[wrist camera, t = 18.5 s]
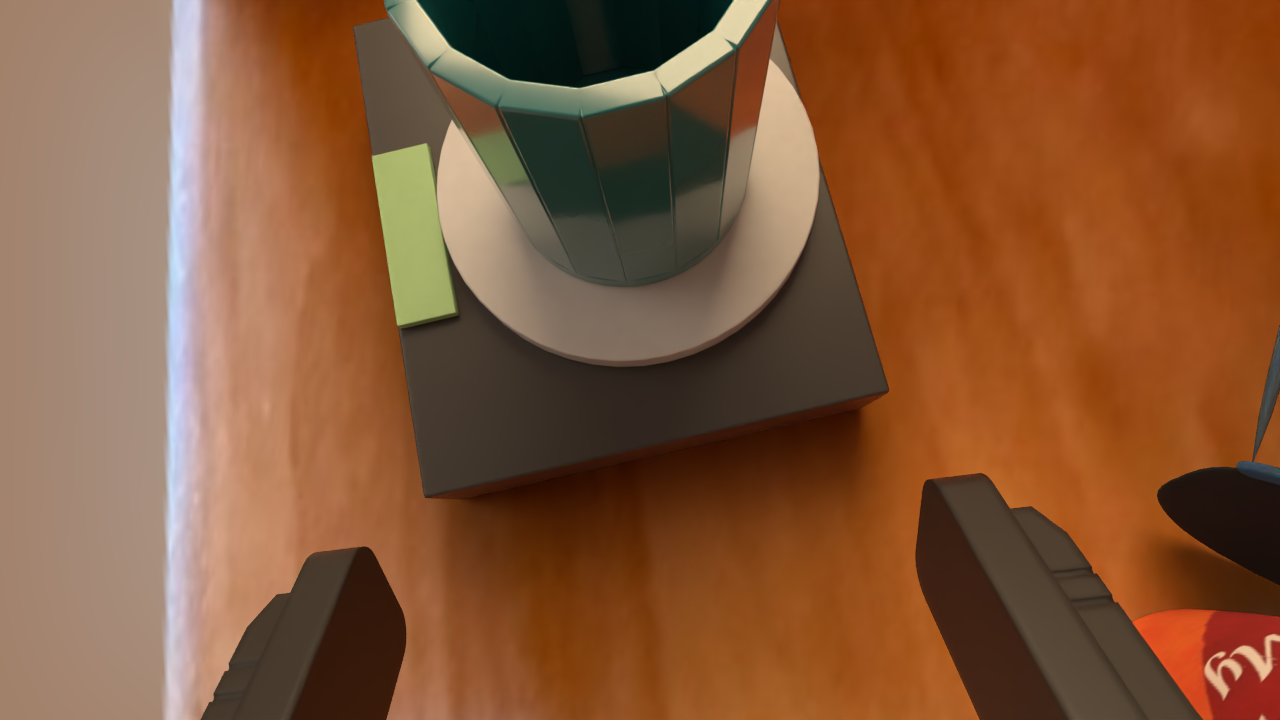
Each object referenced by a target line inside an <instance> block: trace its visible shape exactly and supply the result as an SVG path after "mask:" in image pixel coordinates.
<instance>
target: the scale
mask: <svg viewBox="0 0 1280 720" xmlns="http://www.w3.org/2000/svg"><path fill="white" fill-rule="evenodd" d="M353 31H354V37H355V44H356V51H357V57H358V64H359V70H360V77H361V84H362V90H363V97H364V103H365V110H366V117H367V123H368V130H369V136H370V143H371V150H372V163H373V170H374V176H375V183H376V189H377V196H378V203H379V209H380V216H381V222H382V229H383V236H384V242H385V249H386V255H387V262H388V269H389V275H390V282H391V289H392V295H393V302H394V308H395V315H396V322H397V326H398V328H399V334H400V341H401V347H402V354H403V361H404V367H405V374H406V380H407V387H408V394H409V400H410V407H411V413H412V420H413V426H414V433H415V440H416V446H417V453H418V459H419V466H420V473H421V479H422V486H423V492H424V496H425V498H436V499H466V498H471V497H475V496H480V495H484V494H488V493H493V492H497V491H501V490H506V489H510V488H515V487H519V486H523V485H528V484H532V483H536V482H541V481H545V480H550V479H554V478H558V477H563V476H567V475H572V474H576V473H580V472H585V471H589V470H593V469H598V468H602V467H607V466H611V465H615V464H620V463H624V462H628V461H633V460H637V459H642V458H646V457H650V456H655V455H659V454H663V453H668V452H672V451H677V450H681V449H685V448H690V447H694V446H698V445H703V444H707V443H712V442H716V441H720V440H725V439H729V438H733V437H738V436H742V435H747V434H751V433H755V432H760V431H764V430H768V429H773V428H777V427H782V426H786V425H790V424H795V423H799V422H804V421H808V420H812V419H817V418H821V417H825V416H830V415H834V414H839V413H843V412H847V411H852V410H856V409H860V408H862V407H864V406H865V405H867V404H869V403H871V402H872V401H874V400H876V399H878V398H879V397H881V396H883V395H885V394H886V393H888V392H889V387H888V384H887V380H886V377H885V374H884V370H883V367H882V364H881V361H880V357H879V354H878V351H877V347H876V344H875V341H874V337H873V334H872V331H871V328H870V324H869V321H868V318H867V314H866V311H865V308H864V304H863V301H862V298H861V295H860V291H859V288H858V285H857V281H856V278H855V275H854V271H853V268H852V265H851V261H850V258H849V255H848V252H847V248H846V245H845V242H844V238H843V235H842V232H841V228H840V225H839V222H838V219H837V215H836V212H835V209H834V205H833V202H832V199H831V195H830V192H829V189H828V185H827V182H826V179H825V176H824V172H823V169H822V166H821V162H820V159H819V156H818V150H817V146H816V141H815V137H814V132H813V128H812V126H811V123H810V120H809V118H808V115H807V113H806V110H805V107H804V106H803V103H802V100H801V96H800V93H799V90H798V86H797V83H796V80H795V76H794V73H793V70H792V67H791V63H790V60H789V57H788V53H787V50H786V47H785V43H784V40H783V37H782V33H781V30H780V27H779V24H778V20H777V21H776V26H775V32H774V38H773V43H772V49H771V54H770V60H769V66H768V71H767V77H766V82H765V88H764V94H763V99H762V105H761V110H760V116H759V122H758V127H757V133H756V138H755V144H754V150H753V155H752V161H751V166H750V172H749V178H748V183H747V189H746V194H745V199H744V200H743V204H742V206H741V209H740V211H739V214H738V216H737V218H736V220H735V222H734V224H733V226H732V227H731V229H730V231H729V232H728V234H727V235H726V236H725V238H724V239H723V240H722V242H721V243H720V244H719V245H718V246H717V247H716V248H715V249H714V250H713V251H712V252H711V253H710V254H709V255H708V256H707V257H705V258H704V259H703V260H702V261H700V262H699V263H698V264H696V265H695V266H693V267H691V268H690V269H688V270H686V271H685V272H683V273H681V274H679V275H676V276H674V277H672V278H669V279H667V280H663V281H660V282H657V283H653V284H648V285H642V286H633V287H615V286H604V285H599V284H595V283H590V282H587V281H584V280H581V279H578V278H576V277H573V276H571V275H569V274H567V273H565V272H563V271H561V270H560V269H558V268H557V267H555V266H554V265H553V264H551V263H550V262H548V261H547V260H546V259H545V258H544V257H543V256H542V255H541V254H539V253H538V252H537V251H536V249H535V248H534V247H533V246H532V245H531V243H530V242H529V241H528V240H527V238H526V236H525V235H524V233H523V232H522V230H521V229H520V227H519V226H518V224H517V223H516V222H515V220H514V219H513V217H512V216H511V215H510V213H509V211H508V210H507V208H506V207H505V205H504V203H503V202H502V200H501V198H500V197H499V195H498V194H497V192H496V190H495V189H494V187H493V185H492V184H491V182H490V181H489V179H488V177H487V176H486V174H485V172H484V171H483V169H482V168H481V166H480V164H479V163H478V161H477V159H476V158H475V156H474V155H473V153H472V151H471V150H470V148H469V146H468V145H467V143H466V142H465V140H464V138H463V137H462V135H461V133H460V132H459V130H458V129H457V127H456V125H455V124H454V122H453V120H452V119H451V117H450V116H449V114H448V112H447V111H446V109H445V107H444V106H443V104H442V103H441V101H440V99H439V98H438V96H437V94H436V93H435V91H434V90H433V88H432V86H431V85H430V83H429V81H428V80H427V78H426V77H425V75H424V73H423V72H422V70H421V68H420V67H419V65H418V64H417V62H416V60H415V59H414V57H413V55H412V54H411V52H410V51H409V49H408V47H407V46H406V44H405V42H404V41H403V39H402V38H401V36H400V34H399V33H398V31H397V29H396V28H395V26H394V25H393V23H392V21H391V20H390V18H385V19H381V20H377V21H373V22H369V23H365V24H361V25H357V26H354V27H353Z"/></svg>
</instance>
